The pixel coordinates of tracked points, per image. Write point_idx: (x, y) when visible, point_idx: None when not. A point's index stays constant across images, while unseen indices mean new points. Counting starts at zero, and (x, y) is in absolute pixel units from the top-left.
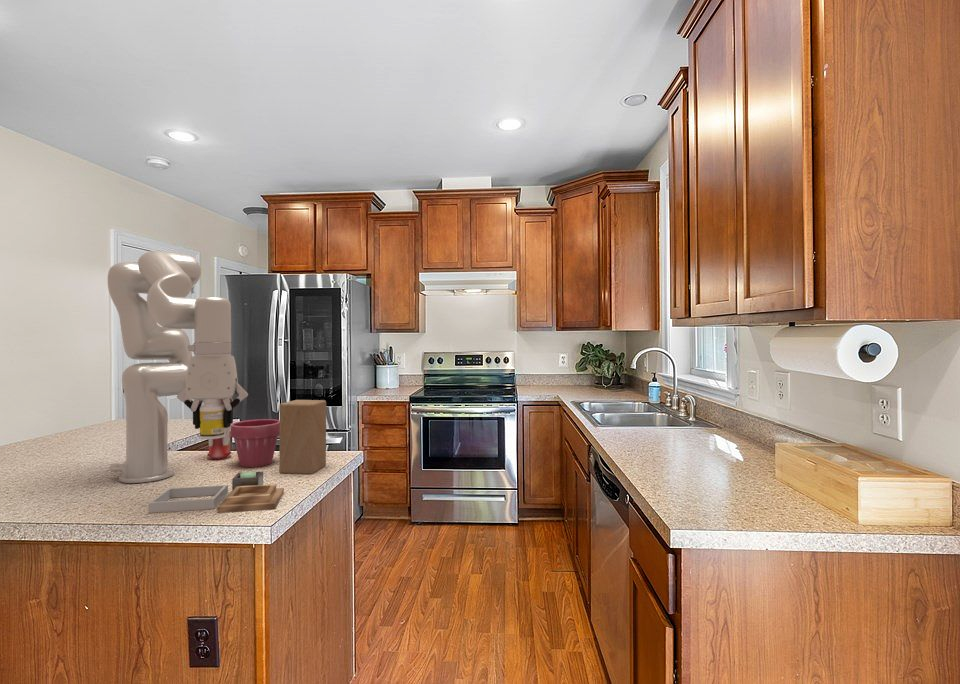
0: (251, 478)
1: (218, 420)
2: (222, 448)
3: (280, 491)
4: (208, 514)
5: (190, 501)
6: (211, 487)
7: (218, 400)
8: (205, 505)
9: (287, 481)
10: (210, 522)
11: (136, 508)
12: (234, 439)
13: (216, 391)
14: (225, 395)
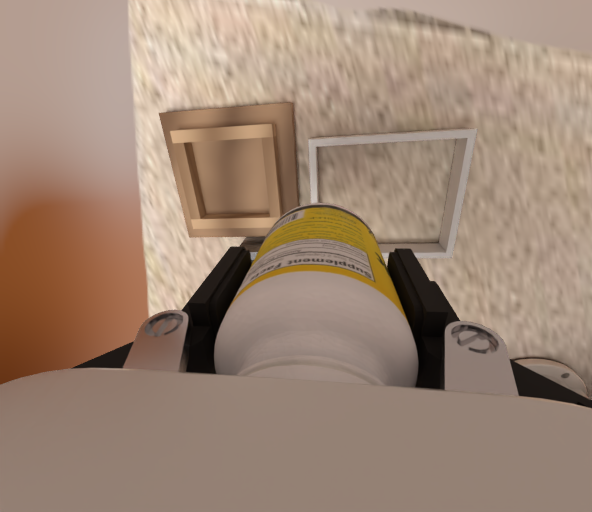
0: (251, 251)
1: (261, 256)
2: None
3: (186, 211)
4: (310, 93)
5: (367, 136)
6: None
7: None
8: (330, 137)
9: None
10: (284, 18)
11: (504, 174)
12: None
13: (118, 490)
14: (40, 392)
